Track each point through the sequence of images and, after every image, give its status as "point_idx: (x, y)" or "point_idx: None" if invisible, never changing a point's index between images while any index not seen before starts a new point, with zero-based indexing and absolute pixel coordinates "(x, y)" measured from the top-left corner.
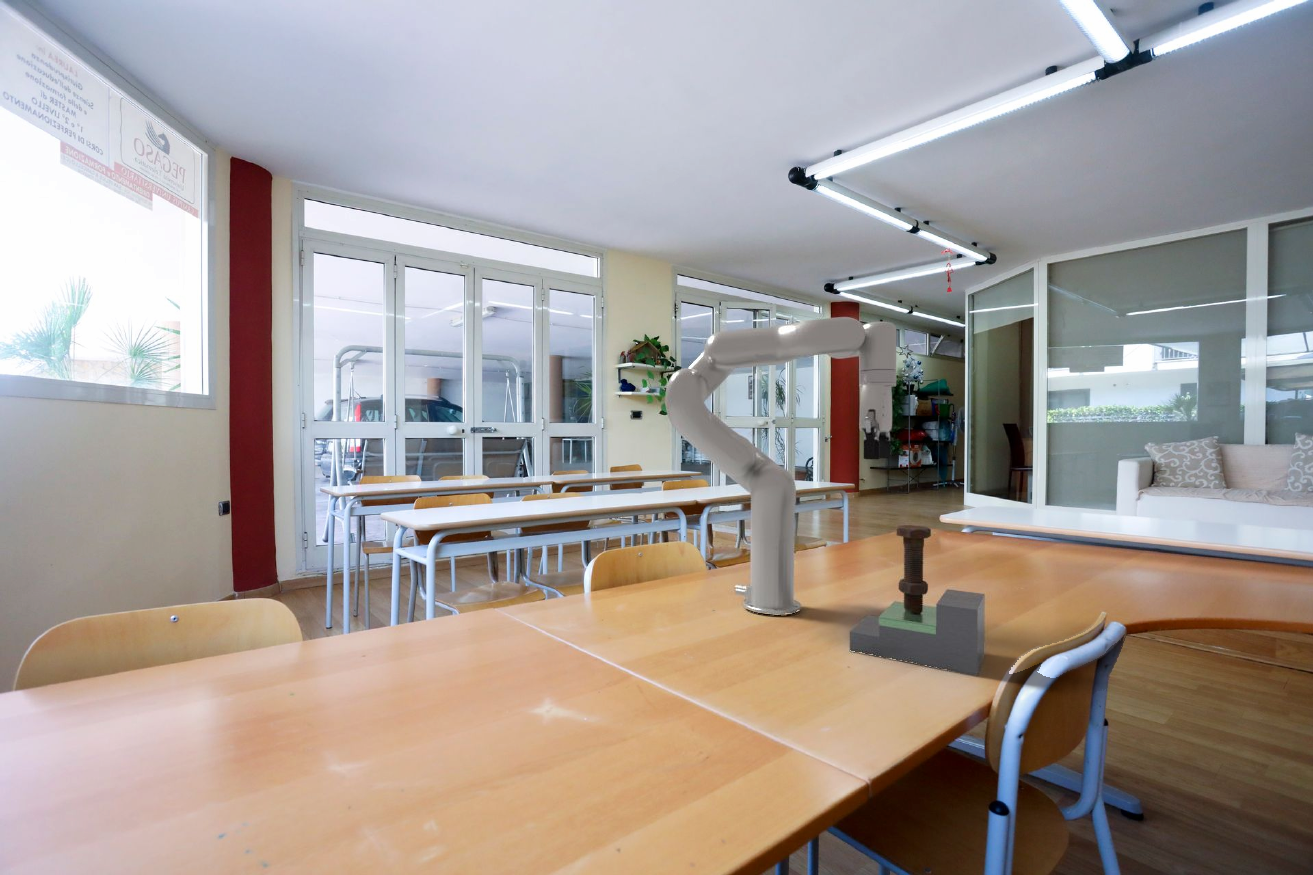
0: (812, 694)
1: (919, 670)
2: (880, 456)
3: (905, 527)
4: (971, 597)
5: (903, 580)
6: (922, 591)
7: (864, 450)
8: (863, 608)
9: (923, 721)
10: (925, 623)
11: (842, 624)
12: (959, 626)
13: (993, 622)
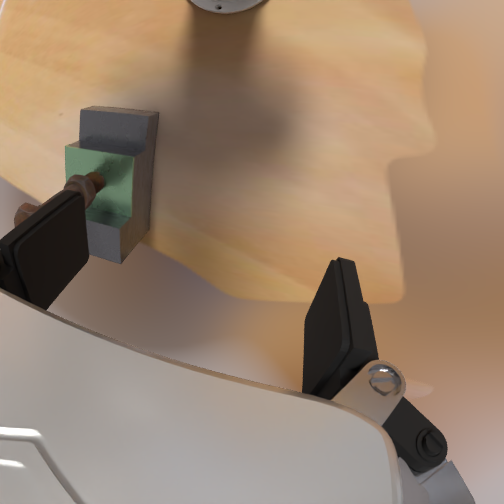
0: (14, 106)
1: None
2: (320, 287)
3: (20, 220)
4: (97, 247)
5: (72, 183)
6: None
7: (41, 212)
8: (287, 100)
9: (17, 176)
10: None
11: (185, 77)
12: None
13: (275, 260)
